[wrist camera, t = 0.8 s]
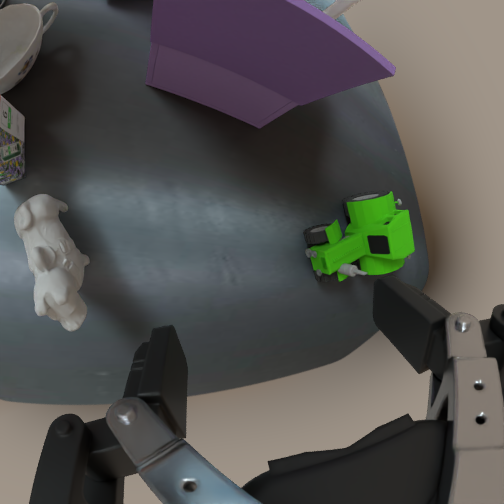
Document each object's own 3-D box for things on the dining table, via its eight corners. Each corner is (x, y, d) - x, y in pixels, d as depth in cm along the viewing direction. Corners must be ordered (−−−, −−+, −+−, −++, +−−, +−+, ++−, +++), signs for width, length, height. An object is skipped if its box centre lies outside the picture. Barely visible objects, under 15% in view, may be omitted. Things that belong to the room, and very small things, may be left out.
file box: (183, 21, 28) (201, -24, 19) (283, 64, 34) (321, 32, 25) (145, 84, 28) (151, 41, 19) (259, 128, 34) (300, 104, 25)
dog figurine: (72, 311, 28) (50, 350, 18) (26, 212, 25) (-17, 212, 15) (108, 292, 30) (97, 325, 20) (62, 190, 26) (30, 179, 17)
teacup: (-5, 133, 21) (-34, 115, 14) (-34, 83, 17) (-58, 61, 10) (84, 50, 24) (77, 15, 17) (46, 10, 20) (37, -22, 13)
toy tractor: (287, 220, 37) (335, 222, 28) (369, 187, 42) (419, 184, 33) (308, 294, 40) (355, 314, 31) (383, 251, 45) (430, 259, 36)
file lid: (167, -53, 8) (159, -46, 8) (396, 67, 14) (394, 76, 14) (154, 35, 19) (149, 42, 19) (303, 99, 25) (301, 106, 25)
